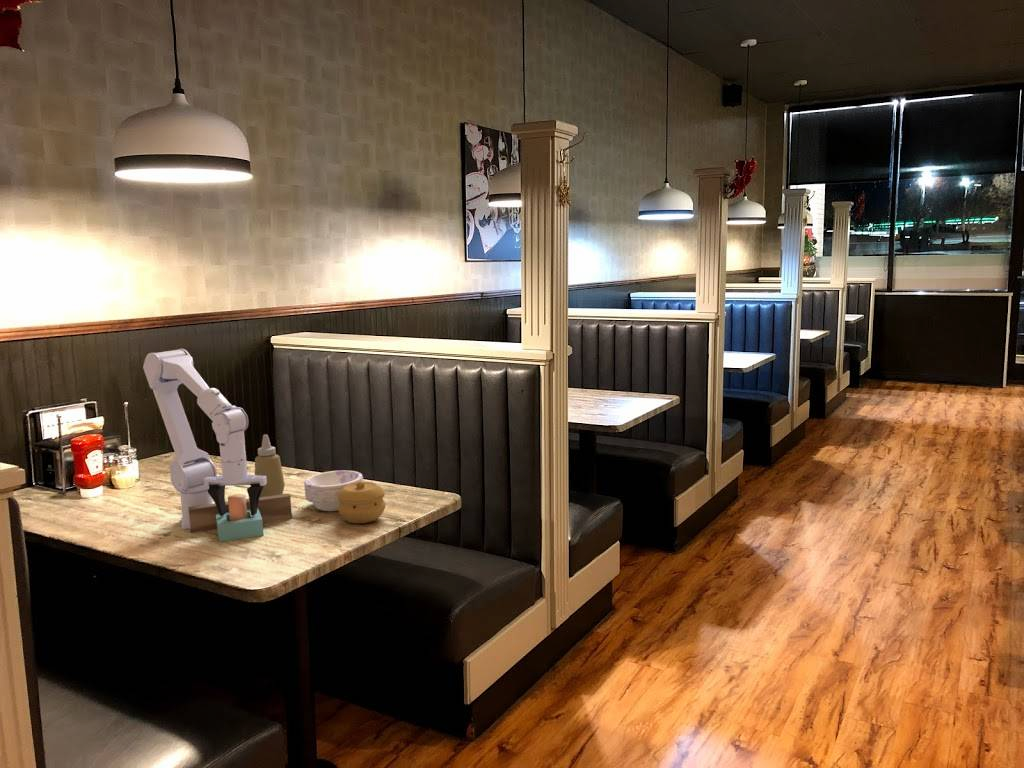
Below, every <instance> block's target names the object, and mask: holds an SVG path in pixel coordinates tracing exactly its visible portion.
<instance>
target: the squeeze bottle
mask: <svg viewBox="0 0 1024 768" xmlns="http://www.w3.org/2000/svg"><path fill="white" fill-rule="evenodd" d="M270 441H271V440H270V437H269V435H268V434H263V435H262V441H261V447H259V448H257V456H256V457H255V458H254V475H258V476H266V478H267V484H266V485H264V487H263V489H262V492H261V495H260V497H266V496H274V495H281V494H284V489H285V486H286V484H285V480H284V479H285V478H284V473H283V469H282V462H281V456H280V455H278V454H277V453H276V452H277V451H276V447H275V446H272V445H271V442H270Z"/></svg>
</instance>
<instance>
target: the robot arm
mask: <svg viewBox="0 0 1024 768" xmlns="http://www.w3.org/2000/svg"><path fill="white" fill-rule="evenodd" d="M142 368H143V371H144V374H145V377H146V380H147V382H148V386H149V388H150V389H151V390H153V394H154V397H155V400H156V403H157V405H158V409H159V412H160V414H161V417H162V421H163V423H164V426H165V428H166V431H167V435H168V436H169V440H170V442H171V446H172V448H173V450H174V453H175V455H174V457H173V459H172V460H171V462H170V463H169V464H168V468H169V473H170V482H171V485H172V487H173V488H174V489H175V490H176V492H178V493H179V496H180V504H181V505H180V507H181V514H182V516H181V518H180V519H181V520H180V521H181V522H180V523H181V530H191V529H190V519H189V508H188V507H192V506H200V505H207V504H213V502H214V504H216V506H217V509H218V511H219V514H220V516H223V515H224V514H226V506H225V502H226V500H225V499H226V495H225V494H226V486H227V487H228V486H231V487H232V486H248V487H247V488H246V492H247V494H248V499H249V500H250V512H251V515H255V514H256V513H257V507H258V501H259V498H260V495H261V492H262V489H263V487H264V485H266V484H267V478H266V476H258V475H255V474H248V467H247V466H248V464H247V455H246V453H247V452H246V444H245V443H246V440H245V439H246V438H245V431H246V430H247V429H248V427H249V417H248V414H247V413H246V411H245V410H244V408H242V407H238V406H236V405H232V403H230V402H229V401H228V399H227V398H226V397H225V396H224V395H223V394H222V393H221V392H220V390H219V389H218V388H215V387H209V385H208V384H207V383H206V381H205V380H204V379H203V378H202V376H201V374H200V373H199V372H198V371H197V370H196V368H195V367H194V360H193V356H191V354H190V353H189V351H187V350H186V349H184V348H179V349H173V350H168V351H167V350H166V351H161V352H149V353H148V354H147V355H146V356H145V359H144V362H143V367H142ZM181 384H182V385H184V386H186V388H187V389H188V390H190V391H191V392H192V393H193V395H195V396H196V397H197V399H196V404H197V405H198V407H199V408H200V409H201V410H202V411H203V412H204V414H205V415H206V416H207V417H208V418H209V419H210V420H211V421H212V422H211V425H212V426H211V427H212V430H213V431H214V433H215V436H216V441H217V443H219V452H220V463H221V464H220V465H221V466H220V467H221V475H218V470H217V467H216V465H215V463H214V462H213V461H212V459H211V457H210V455H209V453H208V452H206V451H204V450H202V449H200V448H199V447H197V443H196V441H195V438H194V434H193V431H192V429H191V426H190V422H189V421H188V418H187V415H186V413H185V409H184V406H183V404H182V400H181V398H180V395H179V393H178V388H179V386H180V385H181Z"/></svg>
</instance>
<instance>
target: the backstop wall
mask: <svg viewBox="0 0 1024 768" xmlns="http://www.w3.org/2000/svg"><path fill="white" fill-rule="evenodd" d="M291 501H292V500H291V494H290V493H283V494H281V495H274V496H266V497H260V498H259V501H258V507H257V508H258V509H259V512H260V514H261V517H262V522H263V523H270V522H275V521H276V522H277V521H284V520H289V519H292V518H293V515H292V514H293V513H292V502H291ZM225 506H226V512H229V505H228V501H225ZM188 508H189V519H190V529H189V530H190V534H194V533H200V531H202V532H208V530H209V531H214V530H213V529H215V530H217V523H216V514H217V513H219V511H218V509H217V506H216V504H215V503H212V504H207V505H200V506H192V507H188ZM246 508H247V509H250V500H249V498H246Z"/></svg>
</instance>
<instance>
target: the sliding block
mask: <svg viewBox="0 0 1024 768" xmlns="http://www.w3.org/2000/svg"><path fill="white" fill-rule="evenodd" d="M247 518H248V519H241V520H234V521H230V515H229V512H226V514H224V515H223V516H220V514H219V513H217V514H216V523H217V529H216V530H217V537H218V541H219V543H221V542H229V541H235V540H241V539H243V540H244V539H248V538H249V539H250V538H255V537H262V536H264V526H263V523H264V522H262V517H261V514H260V512H259V509H258V508H257V513H256V514H255V515H251V512H250V509H247Z"/></svg>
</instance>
